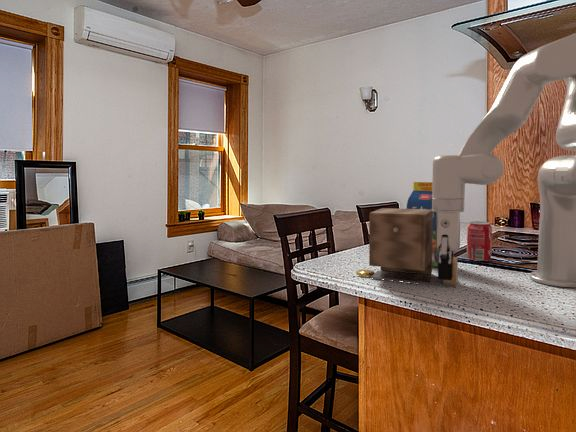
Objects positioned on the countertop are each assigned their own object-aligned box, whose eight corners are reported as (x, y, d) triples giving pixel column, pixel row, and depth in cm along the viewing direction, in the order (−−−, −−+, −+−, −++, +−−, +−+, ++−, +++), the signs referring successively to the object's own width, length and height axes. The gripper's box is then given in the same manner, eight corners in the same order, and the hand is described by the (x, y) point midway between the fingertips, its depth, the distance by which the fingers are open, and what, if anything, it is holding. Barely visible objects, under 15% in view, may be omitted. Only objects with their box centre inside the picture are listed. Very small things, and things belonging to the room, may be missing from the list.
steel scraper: (457, 282, 105) (458, 255, 104) (455, 289, 98) (456, 261, 98) (377, 274, 114) (377, 249, 113) (370, 280, 108) (371, 254, 107)
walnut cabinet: (431, 274, 112) (433, 209, 110) (423, 287, 99) (425, 215, 97) (381, 269, 118) (381, 208, 116) (368, 281, 106) (368, 213, 104)
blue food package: (436, 268, 118) (438, 182, 115) (405, 261, 128) (406, 182, 125) (450, 265, 121) (452, 182, 118) (419, 258, 131) (420, 181, 129)
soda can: (483, 257, 131) (485, 220, 129) (495, 262, 124) (497, 223, 122) (462, 258, 130) (463, 221, 129) (473, 263, 123) (474, 224, 122)
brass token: (376, 274, 114) (376, 270, 113) (371, 279, 109) (371, 274, 109) (359, 272, 116) (359, 268, 116) (354, 277, 111) (354, 273, 111)
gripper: (461, 209, 91) (459, 287, 93) (466, 202, 106) (464, 270, 108) (426, 208, 95) (425, 283, 97) (436, 202, 110) (435, 267, 112)
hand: (446, 275), depth 102 cm, fingers open, 4 cm apart
